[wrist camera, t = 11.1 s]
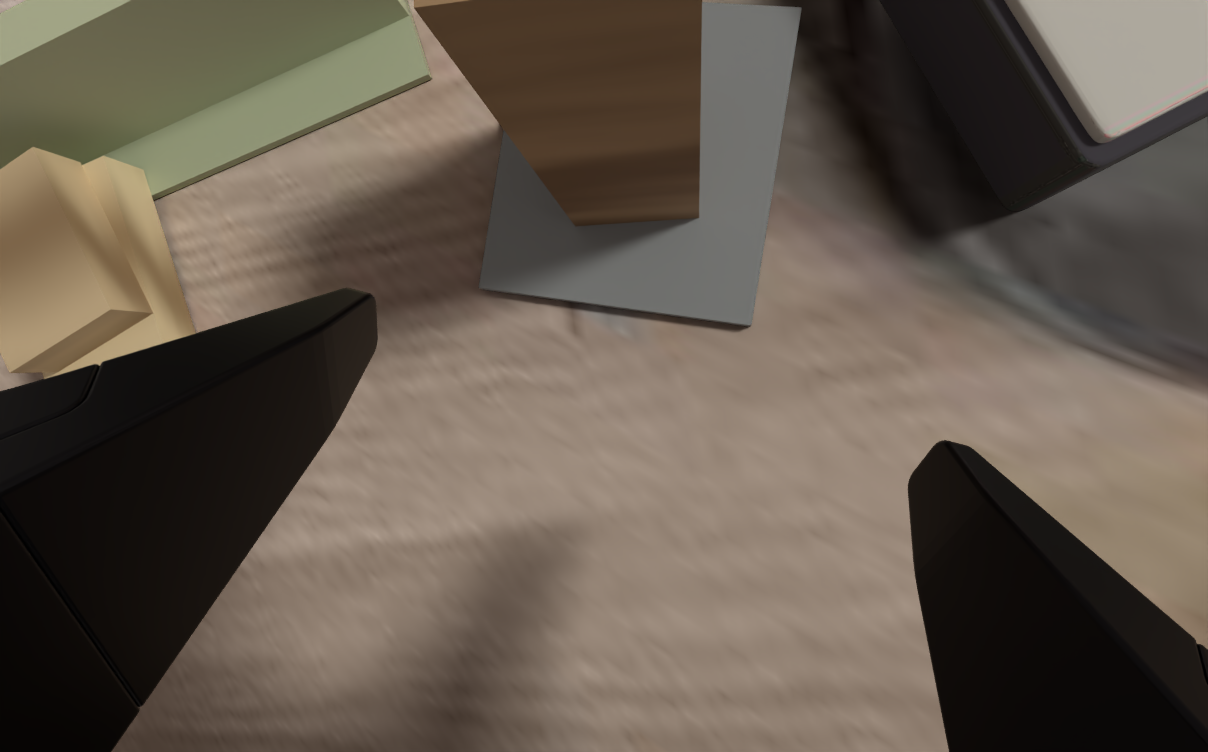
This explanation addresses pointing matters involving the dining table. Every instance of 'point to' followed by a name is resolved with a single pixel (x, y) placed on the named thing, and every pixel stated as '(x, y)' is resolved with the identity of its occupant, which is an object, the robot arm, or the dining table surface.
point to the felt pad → (669, 247)
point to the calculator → (1059, 81)
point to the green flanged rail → (194, 77)
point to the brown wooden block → (589, 96)
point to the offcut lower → (137, 261)
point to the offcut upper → (59, 267)
